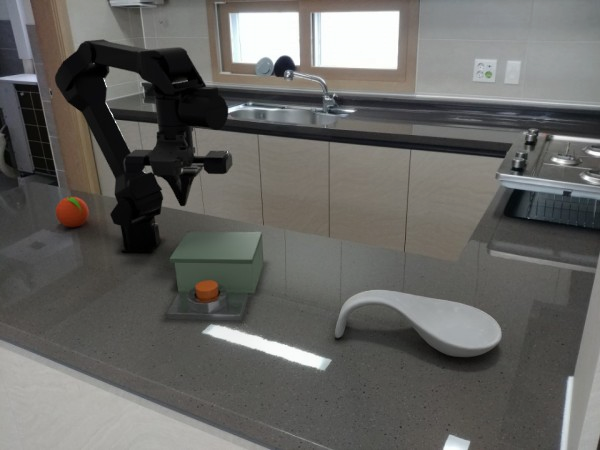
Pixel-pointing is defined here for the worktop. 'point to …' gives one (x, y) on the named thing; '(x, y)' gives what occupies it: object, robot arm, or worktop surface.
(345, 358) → the worktop surface
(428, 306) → the spoon rest
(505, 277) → the worktop surface
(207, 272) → the fryer
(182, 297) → the control panel
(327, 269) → the worktop surface
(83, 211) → the clementine
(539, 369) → the worktop surface
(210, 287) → the button
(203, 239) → the lid
